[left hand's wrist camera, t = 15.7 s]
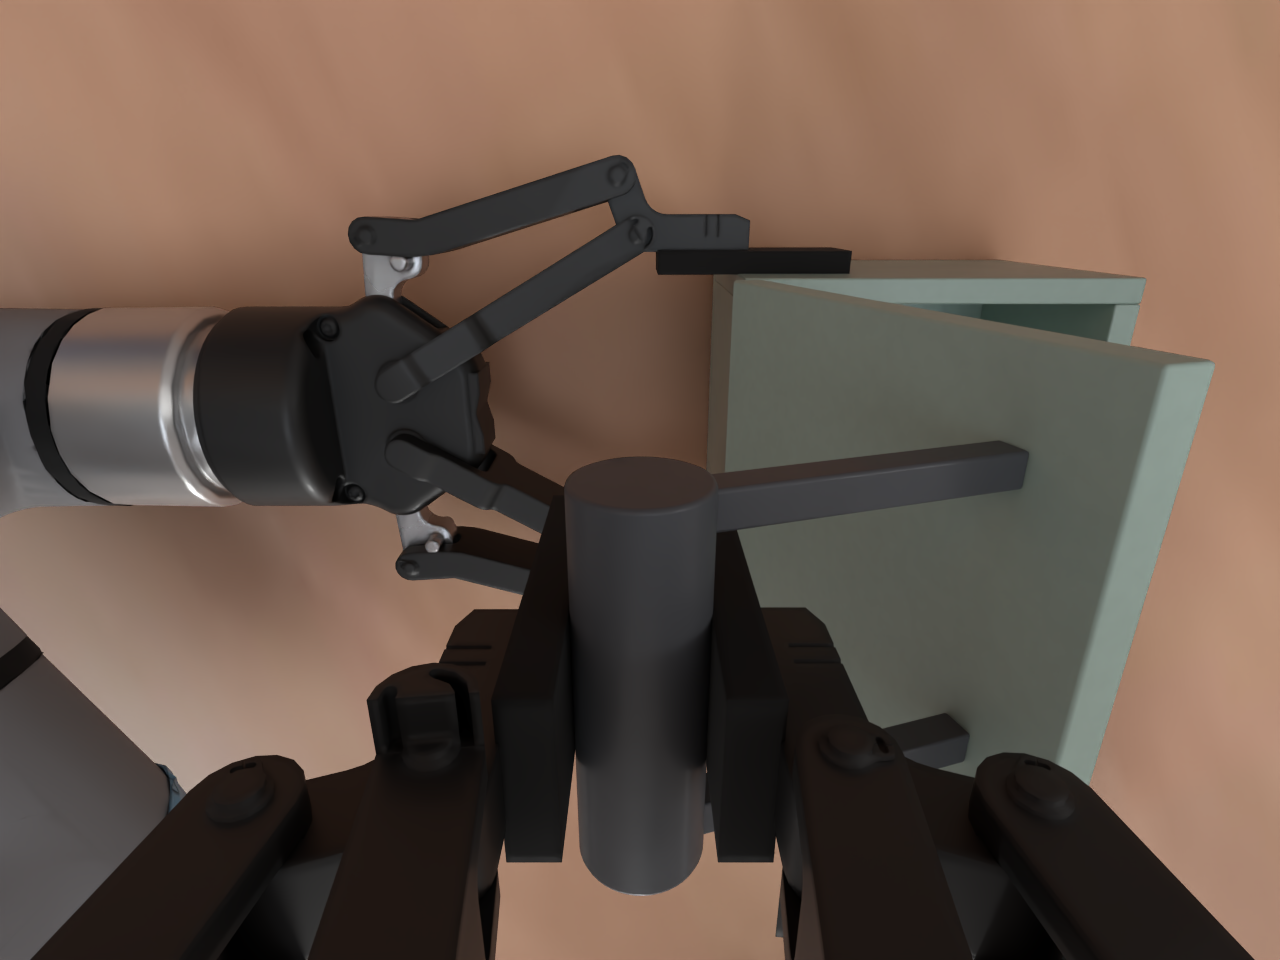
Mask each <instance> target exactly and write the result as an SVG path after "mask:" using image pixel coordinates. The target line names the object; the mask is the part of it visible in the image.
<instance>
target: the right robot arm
mask: <svg viewBox="0 0 1280 960" xmlns="http://www.w3.org/2000/svg"><path fill="white" fill-rule="evenodd" d="M605 202H608V203H609V206H610V209H611V211H612V214H613V217H614V220H615V223H616V225H615V226H614V227H612V228H611V229H609V230H607V231H606V232H604V233H603V234H601V235H599V236H598V237H596V238H595V239H593V240H591V241H590V242H588V243H587V244H585V245H583V246H582V247H580V248H579V249H577V250H575V251H574V252H572V253H571V254H569V255H567V256H566V257H564V258H563V259H561V260H559V261H558V262H556V263H555V264H553V265H551V266H550V267H548V268H547V269H545V270H543V271H542V272H540V273H539V274H537V275H535V276H534V277H532V278H531V279H529V280H527V281H526V282H524V283H523V284H521V285H519V286H518V287H516V288H515V289H513V290H511V291H510V292H508V293H507V294H505V295H503V296H502V297H500V298H499V299H497V300H495V301H494V302H492V303H490V304H489V305H487V306H486V307H484V308H482V309H481V310H479V311H478V312H476V313H474V314H473V315H471V316H470V317H468V318H466V319H465V320H463V321H462V322H460V323H458V324H457V325H455V326H454V327H452V328H449V327H448V326H446V325H445V324H443V323H442V322H440V321H439V320H437V319H436V318H435V317H433V316H432V315H430V314H429V313H427V312H426V311H424V310H423V309H421V308H420V307H418V306H417V305H415V304H414V303H412V302H411V301H410V300H408V299H407V298H405V297H403V296H401V292H402V287H403V284H404V283H405V282H406V281H407V280H409V279H411V278H415V277H418V276H421V275H423V274H424V273H425V272H426V271H427V269H428V266H429V255H434V254H440V253H445V252H450V251H454V250H458V249H461V248H464V247H467V246H471V245H474V244H477V243H480V242H483V241H486V240H489V239H492V238H496V237H499V236H502V235H505V234H508V233H511V232H514V231H517V230H521V229H524V228H527V227H530V226H533V225H536V224H539V223H543V222H546V221H549V220H552V219H555V218H558V217H561V216H564V215H568V214H571V213H574V212H577V211H580V210H583V209H586V208H589V207H593V206H596V205H599V204H602V203H605ZM749 228H750V220H747V219H745V218H743V217H741V216H738V215H736V214H661V213H658V212H656V211H655V210H653V209H652V208H651V207H650V206H649V205H648V203H647V201H646V199H645V197H644V194H643V191H642V188H641V185H640V182H639V179H638V176H637V173H636V170H635V167H634V165H633V163H632V162H631V161H630V160H629V159H628V158H627V157H624V156H621V155H615V156H610V157H607V158H604V159H601V160H598V161H595V162H592V163H589V164H586V165H582V166H579V167H576V168H573V169H570V170H567V171H564V172H561V173H558V174H555V175H552V176H549V177H546V178H543V179H540V180H536V181H533V182H530V183H527V184H524V185H521V186H518V187H515V188H512V189H509V190H506V191H503V192H500V193H497V194H494V195H491V196H487V197H484V198H481V199H478V200H475V201H472V202H469V203H466V204H463V205H460V206H457V207H454V208H451V209H448V210H445V211H441V212H438V213H435V214H432V215H429V216H426V217H423V218H420V219H418V218H402V217H359V218H357V219H355V220H354V221H352V223H351V224H350V226H349V229H348V237H349V241H350V243H351V244H352V246H353V247H354V249H356V250H357V251H359V252H360V253H362V256H363V268H364V281H365V294H366V297H363V298H361V299H360V300H358V301H357V302H355V303H354V304H352V305H350V306H343V307H240V308H237V309H234V310H232V311H227V310H224V309H221V308H217V307H126V308H91V309H18V308H0V518H1V517H3V516H5V515H7V514H10V513H12V512H16V511H20V510H23V509H28V508H33V507H45V506H105V505H115V506H132V505H159V506H219V507H225V506H232V505H237V504H239V503H241V502H244V503H247V504H250V505H254V506H336V505H348V504H360V503H363V504H370V505H374V506H377V507H380V508H382V509H384V510H386V511H388V512H390V513H393V514H396V517H397V522H398V527H399V532H400V536H401V541H402V546H403V552H402V553H401V555H400V556H399V557H398V559H397V561H396V570H397V572H398V574H399V575H400V576H401V577H403V578H405V579H407V580H428V579H445V578H457V579H461V580H465V581H469V582H473V583H477V584H481V585H485V586H489V587H493V588H497V589H501V590H505V591H509V592H513V593H517V594H521V595H523V593H524V590H525V587H526V583H527V580H528V577H529V574H530V570H531V567H532V564H533V560H534V557H535V554H536V551H537V547H538V544H539V543H535V542H531V541H527V540H523V539H519V538H516V537H512V536H508V535H504V534H500V533H496V532H492V531H488V530H485V529H480V528H475V527H465V526H456V525H455V523H454V521H453V519H452V518H450V517H441V516H437V515H435V514H433V513H432V512H431V511H430V510H429V508H428V506H427V505H429V504H430V503H432V502H433V501H434V500H436V499H437V498H438V497H440V496H441V495H443V494H444V493H445V492H447V493H449V494H451V495H453V496H455V497H457V498H459V499H461V500H463V501H465V502H467V503H469V504H471V505H473V506H475V507H477V508H480V509H483V510H490V509H492V510H496V511H498V512H500V513H502V514H504V515H506V516H508V517H510V518H512V519H514V520H516V521H518V522H520V523H522V524H524V525H526V526H527V527H529V528H531V529H533V530H535V531H537V532H539V533H541V534H542V531H543V528H544V524H545V521H546V518H547V515H548V511H549V508H550V505H551V502H552V498H553V495H564V487H562V486H560V485H558V484H556V483H555V482H553V481H551V480H549V479H547V478H545V477H543V476H541V475H539V474H537V473H535V472H534V471H532V470H530V469H528V468H526V467H524V466H522V465H520V464H519V463H517V462H516V460H515V459H514V458H513V457H512V456H511V455H510V454H508V453H507V452H505V451H503V450H501V449H499V448H497V447H496V446H494V445H492V442H493V441H494V439H495V428H494V419H493V416H492V413H491V411H490V408H489V405H488V402H487V398H488V393H489V388H490V382H491V378H490V366H489V362H485V360H484V358H483V356H482V354H481V352H482V351H484V350H485V349H487V348H488V347H490V346H491V345H493V344H494V343H496V342H497V341H499V340H501V339H502V338H504V337H505V336H507V335H509V334H510V333H512V332H514V331H515V330H517V329H519V328H520V327H522V326H523V325H525V324H527V323H528V322H530V321H532V320H533V319H535V318H537V317H538V316H540V315H541V314H543V313H545V312H546V311H548V310H550V309H551V308H553V307H555V306H556V305H558V304H559V303H561V302H563V301H564V300H566V299H568V298H569V297H571V296H573V295H574V294H576V293H577V292H579V291H581V290H582V289H584V288H586V287H587V286H589V285H591V284H592V283H594V282H595V281H597V280H599V279H600V278H602V277H604V276H605V275H607V274H609V273H610V272H612V271H613V270H615V269H617V268H618V267H620V266H622V265H623V264H625V263H627V262H628V261H630V260H631V259H633V258H635V257H636V256H638V255H640V254H641V253H643V252H656V270H657V273H658V275H738V274H850V264H851V255H852V251H849V250H843V249H837V248H748V247H749ZM43 653H44V652H41V650H40V648H39V647H38V646H37V645H36V644H35V643H34V642H33V641H32V640H31V639H30V638H29V637H28V636H27V635H26V633H25V632H24V631H23V630H22V629H21V628H20V627H19V626H18V625H17V624H16V623H15V622H14V621H13V620H12V619H11V618H10V617H9V616H8V615H7V614H6V613H5V612H4V611H3V610H2V609H1V608H0V960H30V959H31V958H32V957H33V956H34V955H35V954H36V953H37V952H38V951H39V950H40V949H41V948H42V947H43V945H44V944H45V943H46V942H47V941H48V940H49V939H50V938H51V937H52V936H53V935H54V934H55V933H56V932H57V931H58V930H59V929H60V928H61V926H62V925H63V924H64V923H65V922H66V921H67V920H68V919H69V918H70V917H71V916H72V915H73V914H74V913H75V912H76V911H77V910H78V908H79V907H80V906H81V905H82V904H83V903H84V902H85V901H86V900H87V899H88V898H89V897H90V896H91V895H92V894H93V893H94V892H95V890H96V889H97V888H98V887H99V886H100V885H101V884H102V883H103V882H104V881H105V880H106V879H107V878H108V877H109V876H110V875H111V874H112V873H113V871H114V870H115V869H116V868H117V867H118V866H119V865H120V864H121V863H122V862H123V861H124V860H125V859H126V858H127V857H128V856H129V855H130V853H131V852H132V851H133V850H134V849H135V848H136V847H137V846H138V845H139V844H140V843H141V842H142V841H143V840H144V839H145V838H146V837H147V836H148V834H149V833H150V832H151V831H152V830H153V829H154V828H155V827H156V826H157V825H158V824H159V823H160V822H161V821H162V820H163V819H164V818H165V816H166V815H167V814H168V813H169V812H170V811H171V810H172V809H173V808H174V807H175V806H176V805H177V804H178V803H179V802H180V801H181V800H182V798H183V797H184V796H185V795H186V793H185V791H184V790H183V789H182V788H181V786H180V785H179V784H178V782H177V779H176V777H175V776H174V775H173V773H172V772H171V771H170V770H169V769H168V768H167V766H165V765H161V764H157V763H154V762H153V761H152V760H151V759H150V758H149V757H148V756H147V755H146V754H145V753H144V752H143V751H141V750H140V749H139V748H138V747H137V746H136V745H135V744H134V743H133V742H132V741H131V740H130V739H129V738H128V737H127V736H126V735H125V734H124V733H123V732H122V731H121V730H120V729H119V728H118V727H117V726H116V725H115V724H114V723H113V722H112V721H111V720H110V719H109V718H108V717H107V716H105V715H104V714H103V713H102V712H101V711H100V710H99V709H98V708H97V707H96V706H95V705H94V704H93V703H92V702H91V701H90V700H89V699H88V698H87V697H86V696H85V695H84V694H83V693H82V692H81V691H80V690H79V689H78V688H77V687H76V686H75V685H74V684H73V683H72V682H70V681H69V680H68V679H67V678H66V677H65V676H64V675H63V674H62V673H61V672H60V671H59V670H58V669H57V668H56V667H55V666H54V665H53V664H52V663H51V662H50V661H49V660H48V659H47V658H46V657H45V656H44V655H43Z"/></svg>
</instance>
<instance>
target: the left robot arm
mask: <svg viewBox="0 0 1280 960" xmlns="http://www.w3.org/2000/svg"><path fill="white" fill-rule="evenodd" d="M367 705H368V711H369V716H370V722H371V728H372V733H373V739H374V745H375V750H376V757H375V760H373V761H371V762H369V763H367V764H365V765H362V766H359V767H356V768H353V769H350V770H346V771H342V772H338V773H334V774H330V775H326V776H321V777H317V778H313V779H309V780H305V775H304V771H303V769H302V768H301V767H300V766H299V765H298V764H297V763H296V762H295V761H294V760H292V759H289V758H286V757H282V756H279V755H268V756H254V757H251V758H247V759H244V760H241V761H237V762H234V763H231V764H229V765H227V766H225V767H223V768H221V769H220V770H218V771H216V772H214V773H212V774H210V775H208V776H207V777H206V778H205V779H204V780H202V781H201V782H200V783H199V784H197V785H196V786H195V787H194V788H193V789H191V790H190V791H189V792H188V793H187V794H186V795H185V796H184V797H183V798H182V800H181V801H180V802H179V803H178V804H177V805H176V806H175V807H174V808H173V809H172V810H171V811H170V812H169V813H168V814H167V815H166V816H165V818H164V819H163V820H162V821H161V822H160V823H159V824H158V825H157V826H156V827H155V828H154V829H153V830H152V831H151V832H150V833H149V834H148V836H147V837H146V838H145V839H144V840H143V841H142V842H141V843H140V844H139V845H138V846H137V847H136V848H135V849H134V850H133V851H132V852H131V853H130V855H129V856H128V857H127V858H126V859H125V860H124V861H123V862H122V863H121V864H120V865H119V866H118V867H117V868H116V869H115V870H114V871H113V873H112V874H111V875H110V876H109V877H108V878H107V879H106V880H105V881H104V882H103V883H102V884H101V885H100V886H99V887H98V888H97V889H96V890H95V892H94V893H93V894H92V895H91V896H90V897H89V898H88V899H87V900H86V901H85V902H84V903H83V904H82V905H81V906H80V907H79V908H78V910H77V911H76V912H75V913H74V914H73V915H72V916H71V917H70V918H69V919H68V920H67V921H66V922H65V923H64V924H63V925H62V926H61V928H60V929H59V930H58V931H57V932H56V933H55V934H54V935H53V936H52V937H51V938H50V939H49V940H48V941H47V942H46V943H45V944H44V945H43V947H42V948H41V949H40V950H39V951H38V952H37V953H36V954H35V955H34V956H33V957H32V958H31V959H30V960H495V953H496V941H497V929H498V917H499V906H500V888H499V879H498V869H497V868H498V864H499V859H500V855H501V850H502V845H503V841H504V842H505V852H506V862H562V856H563V848H564V839H565V831H566V823H567V814H568V806H569V798H570V789H571V781H572V773H573V764H574V756H575V728H574V705H573V682H572V659H571V636H570V613H569V590H568V567H567V543H566V520H565V497H564V495H553V498H552V502H551V505H550V508H549V511H548V515H547V518H546V521H545V524H544V528H543V531H542V534H541V538H540V541H539V544H538V547H537V551H536V554H535V557H534V560H533V564H532V567H531V570H530V574H529V577H528V580H527V583H526V587H525V590H524V593H523V596H522V600H521V603H520V606H519V609H474V610H473V611H472V612H471V613H470V614H469V615H467V616H466V617H465V618H464V619H463V620H462V621H460V622H459V623H458V624H457V625H456V626H455V627H454V630H453V632H452V634H451V636H450V639H449V641H448V643H447V645H446V649H445V650H444V652H443V654H442V657H441V659H440V661H439V663H429V664H423V665H418V666H412V667H409V668H407V669H405V670H402V671H400V672H397V673H395V674H392V675H391V676H390V677H388V678H387V679H385V680H384V681H383V682H381V683H380V684H379V685H377V686H376V687H375V689H374V690H373V692H372V693H371V694H370V696H369V697H368V699H367ZM706 766H707V774H708V783H709V791H710V799H711V808H712V816H713V824H714V832H715V841H716V849H717V857H718V862H773V861H774V850H775V840H776V838H777V843H778V848H779V852H780V857H781V861H782V866H783V869H782V879H781V888H780V898H779V908H778V918H777V927H776V937H783V939H784V951H785V960H1254V959H1253V958H1252V957H1251V956H1250V954H1249V953H1248V952H1247V951H1246V950H1245V949H1244V948H1243V947H1242V946H1241V945H1240V944H1239V943H1238V942H1237V941H1236V940H1235V939H1234V938H1233V937H1232V936H1231V935H1230V933H1229V932H1228V931H1227V930H1226V929H1225V928H1224V927H1223V926H1222V925H1221V924H1220V923H1219V922H1218V921H1217V920H1216V919H1215V918H1214V917H1213V916H1212V915H1211V913H1210V912H1209V911H1208V910H1207V909H1206V908H1205V907H1204V906H1203V905H1202V904H1201V903H1200V902H1199V901H1198V900H1197V899H1196V898H1195V897H1194V896H1193V895H1192V894H1191V892H1190V891H1189V890H1188V889H1187V888H1186V887H1185V886H1184V885H1183V884H1182V883H1181V882H1180V881H1179V880H1178V879H1177V878H1176V877H1175V876H1174V875H1173V874H1172V873H1171V871H1170V870H1169V869H1168V868H1167V867H1166V866H1165V865H1164V864H1163V863H1162V862H1161V861H1160V860H1159V859H1158V858H1157V857H1156V856H1155V855H1154V854H1153V853H1152V852H1151V850H1150V849H1149V848H1148V847H1147V846H1146V845H1145V844H1144V843H1143V842H1142V841H1141V840H1140V839H1139V838H1138V837H1137V836H1136V835H1135V834H1134V833H1133V832H1132V831H1131V829H1130V828H1129V827H1128V826H1127V825H1126V824H1125V823H1124V822H1123V821H1122V820H1121V819H1120V818H1119V817H1118V816H1117V815H1116V814H1115V813H1114V812H1113V811H1112V809H1111V808H1110V807H1109V806H1108V805H1107V804H1106V803H1105V802H1104V801H1103V800H1102V799H1101V798H1100V797H1099V796H1098V795H1097V794H1096V793H1095V792H1094V791H1093V790H1092V788H1090V787H1089V786H1088V785H1087V784H1086V783H1084V782H1083V781H1082V780H1081V779H1079V778H1078V777H1077V776H1076V775H1075V774H1073V773H1072V772H1070V771H1069V770H1067V769H1065V768H1063V767H1061V766H1059V765H1057V764H1055V763H1053V762H1051V761H1049V760H1046V759H1043V758H1039V757H1036V756H1033V755H1029V754H1026V753H1009V752H1002V753H999V754H995V755H992V756H989V757H986V758H985V759H984V760H983V762H982V763H981V764H980V765H979V766H978V767H977V770H976V774H975V778H974V777H970V776H966V775H962V774H957V773H953V772H949V771H945V770H941V769H936V768H933V767H930V766H926V765H923V764H920V763H917V762H915V761H913V760H911V759H909V758H907V757H905V756H904V753H903V752H902V750H901V748H900V747H899V745H898V743H897V742H896V740H895V739H894V738H893V737H892V736H891V735H889V734H888V733H887V732H886V731H885V730H883V729H882V728H881V727H880V726H877V725H875V724H873V723H871V722H869V721H868V719H867V716H866V714H865V712H864V710H863V707H862V705H861V703H860V701H859V699H858V696H857V694H856V692H855V690H854V687H853V685H852V683H851V681H850V679H849V676H848V674H847V672H846V670H845V667H844V665H843V663H841V659H840V656H839V654H838V652H837V650H836V647H834V643H833V641H832V639H831V636H830V634H829V632H828V630H827V627H826V625H825V624H824V623H823V622H822V621H821V620H820V619H819V618H817V617H816V616H815V615H814V614H813V613H812V612H810V611H809V610H808V609H807V608H806V607H760V604H759V600H758V597H757V594H756V591H755V587H754V584H753V581H752V578H751V574H750V571H749V568H748V564H747V561H746V558H745V555H744V551H743V548H742V545H741V542H740V538H739V535H738V532H737V530H734V531H727V532H720V533H716V555H715V579H714V602H713V614H712V630H711V653H710V676H709V699H708V723H707V746H706Z"/></svg>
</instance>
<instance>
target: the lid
mask: <svg viewBox="0 0 1280 960" xmlns="http://www.w3.org/2000/svg"><path fill="white" fill-rule="evenodd" d="M1214 368H1215V363H1214V362H1212V361H1210V360H1207V359H1202V358H1196V357H1190V356H1185V355H1179V354H1174V353H1168V352H1162V351H1157V350H1151V349H1145V348H1140V347H1134V346H1129V345H1123V344H1117V343H1112V342H1106V341H1101V340H1095V339H1089V338H1084V337H1078V336H1073V335H1067V334H1061V333H1056V332H1050V331H1045V330H1039V329H1033V328H1028V327H1022V326H1017V325H1011V324H1005V323H1000V322H994V321H989V320H983V319H977V318H972V317H966V316H961V315H955V314H949V313H944V312H938V311H933V310H927V309H921V308H916V307H910V306H905V305H899V304H893V303H888V302H882V301H877V300H871V299H865V298H860V297H854V296H848V295H843V294H837V293H832V292H826V291H820V290H815V289H809V288H804V287H798V286H792V285H787V284H781V283H776V282H770V281H764V280H736V281H734V286H733V307H732V329H731V350H730V372H729V393H728V415H727V437H726V458H725V473H717V474H711V473H709V472H708V471H706V470H705V469H703V468H701V467H698V466H696V465H693V464H690V463H687V462H683V461H679V460H674V459H667V458H659V457H623V458H615V459H609V460H604V461H600V462H596V463H592V464H589V465H586V466H584V467H582V468H580V469H578V470H576V471H575V472H573V473H572V474H571V475H570V476H569V477H568V478H567V480H566V483H565V486H564V497H565V520H566V543H567V567H568V590H569V613H570V636H571V659H572V682H573V705H574V728H575V752H576V775H577V798H578V821H579V844H580V852H581V856H582V858H583V861H584V863H585V865H586V866H587V868H588V869H589V871H590V872H591V873H592V875H593V876H594V877H595V878H596V879H597V880H598V881H600V882H601V883H602V884H604V885H605V886H607V887H609V888H610V889H612V890H615V891H617V892H620V893H624V894H628V895H635V896H647V895H654V894H659V893H662V892H665V891H668V890H670V889H672V888H674V887H676V886H677V885H679V884H680V883H682V882H683V881H684V880H685V879H686V878H687V877H688V876H689V875H690V874H691V873H692V871H693V870H694V869H695V867H696V865H697V864H698V862H699V859H700V857H701V854H702V849H703V834H706V833H710V832H713V831H714V824H713V816H712V808H711V799H710V791H709V783H708V774H707V773H706V746H707V723H708V699H709V676H710V653H711V630H712V614H713V602H714V579H715V555H716V533H720V532H727V531H734V530H737V532H738V535H739V538H740V542H741V545H742V548H743V551H744V555H745V558H746V561H747V564H748V568H749V571H750V574H751V578H752V581H753V584H754V587H755V591H756V594H757V597H758V600H759V604H760V607H806V608H807V609H808V610H809V611H810V612H812V613H813V614H814V615H815V616H816V617H817V618H819V619H820V620H821V621H822V622H823V623H824V624H825V625H826V627H827V630H828V632H829V634H830V636H831V639H832V641H833V643H834V647H836V650H837V652H838V654H839V656H840V659H841V663H843V665H844V667H845V670H846V672H847V674H848V676H849V679H850V681H851V683H852V685H853V687H854V690H855V692H856V694H857V696H858V699H859V701H860V703H861V705H862V707H863V710H864V712H865V714H866V716H867V719H868V721H869V722H871V723H873V724H875V725H877V726H880V727H881V728H882V729H883V730H885V731H886V732H887V733H888V734H889V735H891V736H892V737H893V738H894V739H895V740H896V742H897V743H898V745H899V747H900V748H901V750H902V752H903V753H904V756H905V757H907V758H909V759H911V760H913V761H915V762H917V763H920V764H923V765H926V766H930V767H933V768H936V769H941V770H945V771H949V772H953V773H957V774H962V775H966V776H970V777H974V778H975V774H976V770H977V767H978V766H979V765H980V764H981V763H982V762H983V760H984V759H985V758H986V757H989V756H992V755H995V754H999V753H1002V752H1009V753H1026V754H1029V755H1033V756H1036V757H1039V758H1043V759H1046V760H1049V761H1051V762H1053V763H1055V764H1057V765H1059V766H1061V767H1063V768H1065V769H1067V770H1069V771H1070V772H1072V773H1073V774H1075V775H1076V776H1077V777H1078V778H1079V779H1081V780H1082V781H1083V782H1084V783H1086V784H1087V785H1088V786H1089V783H1090V780H1091V777H1092V773H1093V770H1094V767H1095V764H1096V760H1097V757H1098V754H1099V750H1100V747H1101V744H1102V740H1103V737H1104V734H1105V730H1106V727H1107V724H1108V720H1109V717H1110V714H1111V710H1112V707H1113V704H1114V700H1115V697H1116V694H1117V690H1118V687H1119V684H1120V680H1121V677H1122V674H1123V670H1124V667H1125V664H1126V660H1127V657H1128V654H1129V650H1130V647H1131V644H1132V640H1133V637H1134V634H1135V631H1136V627H1137V624H1138V621H1139V617H1140V614H1141V611H1142V607H1143V604H1144V601H1145V597H1146V594H1147V591H1148V587H1149V584H1150V581H1151V577H1152V574H1153V571H1154V567H1155V564H1156V561H1157V557H1158V554H1159V551H1160V547H1161V544H1162V541H1163V537H1164V534H1165V531H1166V527H1167V524H1168V521H1169V517H1170V514H1171V511H1172V508H1173V504H1174V501H1175V498H1176V494H1177V491H1178V488H1179V484H1180V481H1181V478H1182V474H1183V471H1184V468H1185V464H1186V461H1187V458H1188V454H1189V451H1190V448H1191V444H1192V441H1193V438H1194V434H1195V431H1196V428H1197V424H1198V421H1199V418H1200V414H1201V411H1202V408H1203V404H1204V401H1205V398H1206V394H1207V391H1208V388H1209V385H1210V381H1211V378H1212V375H1213V371H1214Z"/></svg>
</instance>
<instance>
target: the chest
mask: <svg viewBox="0 0 1280 960" xmlns="http://www.w3.org/2000/svg"><path fill="white" fill-rule="evenodd" d="M736 280H764V281H770V282H776V283H781V284H787V285H792V286H798V287H804V288H809V289H815V290H820V291H826V292H832V293H837V294H843V295H848V296H854V297H860V298H865V299H871V300H877V301H882V302H888V303H893V304H899V305H905V306H910V307H916V308H921V309H927V310H933V311H938V312H944V313H949V314H955V315H961V316H966V317H972V318H977V319H983V320H989V321H994V322H1000V323H1005V324H1011V325H1017V326H1022V327H1028V328H1033V329H1039V330H1045V331H1050V332H1056V333H1061V334H1067V335H1073V336H1078V337H1084V338H1089V339H1095V340H1101V341H1106V342H1112V343H1117V344H1123V345H1129V346H1130V343H1131V339H1132V335H1133V331H1134V327H1135V323H1136V319H1137V315H1138V312H1139V308H1140V305H1139V303H1140V302H1141V299H1142V295H1143V291H1144V287H1145V283H1146V278H1142V277H1134V276H1125V275H1117V274H1109V273H1101V272H1093V271H1085V270H1077V269H1069V268H1061V267H1052V266H1044V265H1036V264H1028V263H1020V262H1012V261H1004V260H851V264H850V274H738V275H713V301H712V329H711V357H710V384H709V412H708V440H707V467H706V471H708V472H709V473H711V474H717V473H725V458H726V437H727V415H728V393H729V372H730V350H731V329H732V307H733V286H734V281H736Z"/></svg>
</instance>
